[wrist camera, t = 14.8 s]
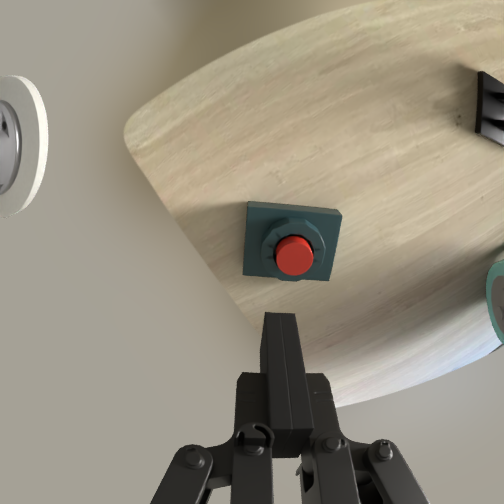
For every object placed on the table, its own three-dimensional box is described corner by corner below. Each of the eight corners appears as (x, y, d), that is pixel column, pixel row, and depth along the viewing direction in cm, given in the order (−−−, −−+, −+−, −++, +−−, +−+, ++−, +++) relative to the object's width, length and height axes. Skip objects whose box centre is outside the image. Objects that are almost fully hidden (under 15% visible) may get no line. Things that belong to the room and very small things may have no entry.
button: (273, 266, 30) (274, 274, 29) (277, 234, 29) (278, 241, 27) (307, 268, 30) (309, 276, 29) (312, 237, 29) (315, 244, 27)
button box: (243, 266, 34) (241, 283, 31) (248, 200, 31) (246, 211, 27) (325, 272, 34) (332, 289, 31) (337, 209, 31) (347, 221, 27)
